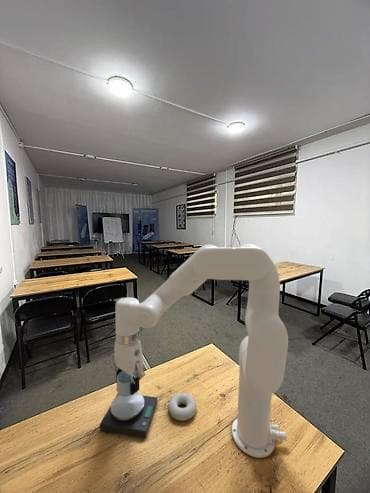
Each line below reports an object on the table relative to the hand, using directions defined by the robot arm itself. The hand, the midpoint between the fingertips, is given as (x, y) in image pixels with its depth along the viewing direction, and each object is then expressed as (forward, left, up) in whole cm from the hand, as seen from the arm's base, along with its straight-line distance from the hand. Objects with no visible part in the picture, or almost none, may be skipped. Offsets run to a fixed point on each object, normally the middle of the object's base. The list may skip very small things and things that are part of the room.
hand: (127, 386), depth 70 cm
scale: (-1, 0, -11) cm, 11 cm away
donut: (-18, -5, -11) cm, 22 cm away
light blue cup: (0, 0, -1) cm, 1 cm away
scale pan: (0, 0, -7) cm, 7 cm away
